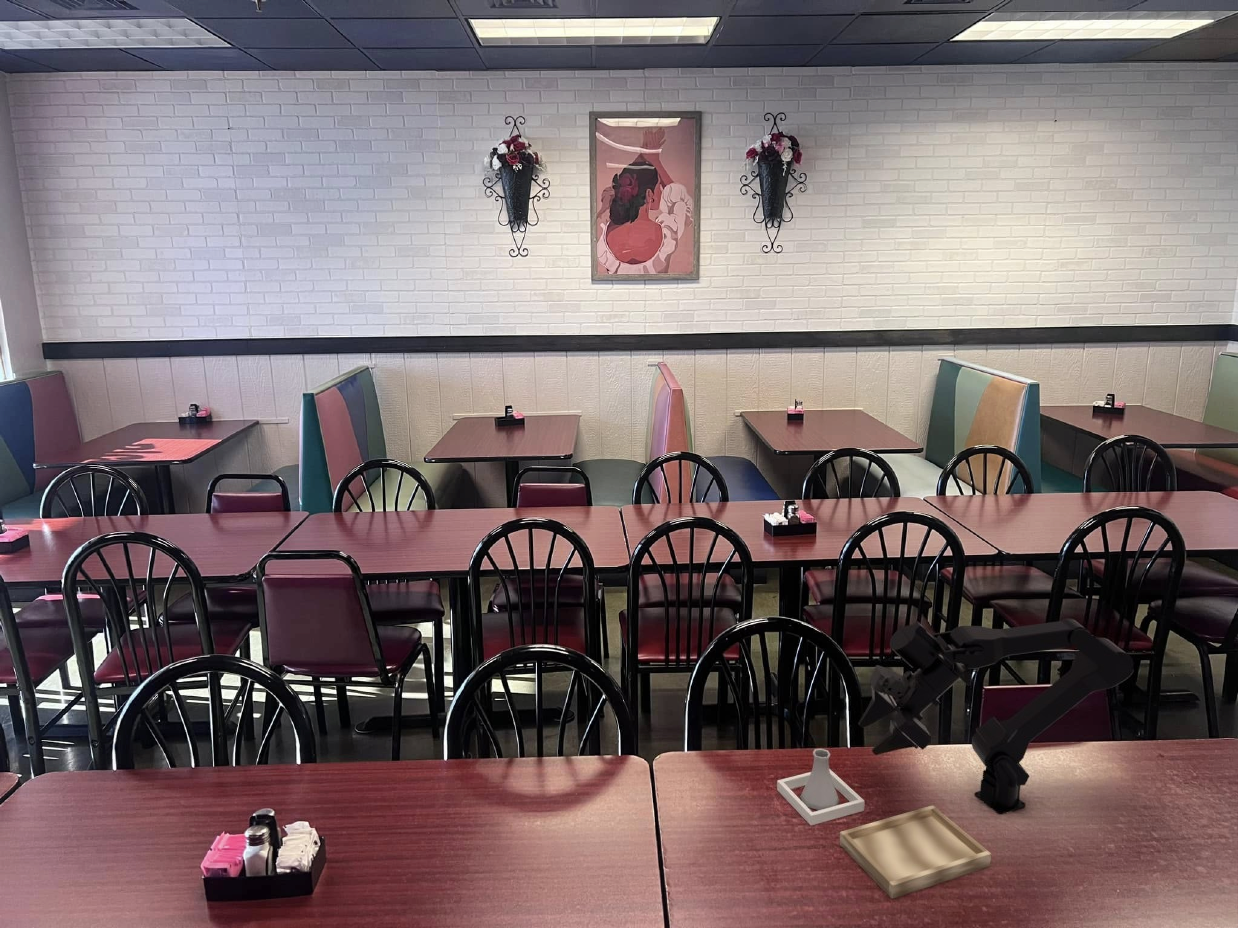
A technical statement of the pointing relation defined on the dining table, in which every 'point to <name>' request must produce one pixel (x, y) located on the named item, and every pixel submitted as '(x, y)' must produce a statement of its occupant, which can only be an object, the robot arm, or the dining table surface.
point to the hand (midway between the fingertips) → (866, 738)
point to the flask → (820, 784)
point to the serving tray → (914, 851)
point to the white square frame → (825, 814)
